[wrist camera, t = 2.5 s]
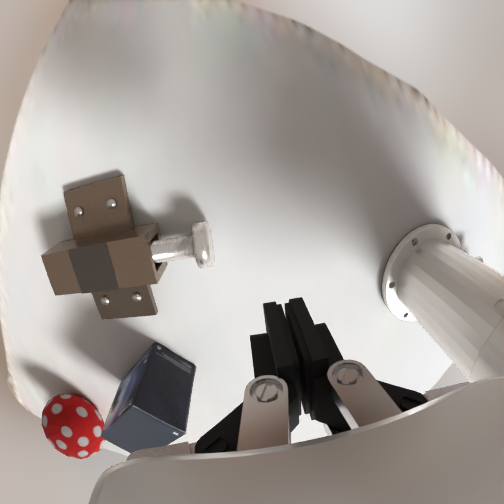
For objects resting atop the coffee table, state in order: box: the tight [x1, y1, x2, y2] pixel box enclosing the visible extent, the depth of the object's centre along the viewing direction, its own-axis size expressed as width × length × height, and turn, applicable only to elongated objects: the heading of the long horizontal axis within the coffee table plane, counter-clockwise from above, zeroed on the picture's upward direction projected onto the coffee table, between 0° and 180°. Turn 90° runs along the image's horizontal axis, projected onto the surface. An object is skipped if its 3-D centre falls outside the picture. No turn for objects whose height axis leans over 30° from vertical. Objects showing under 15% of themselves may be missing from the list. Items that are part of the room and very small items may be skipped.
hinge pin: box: [149, 221, 215, 268], centre depth 25 cm, size 14×4×4 cm, turn 97°
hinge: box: [41, 175, 167, 319], centre depth 25 cm, size 12×15×4 cm
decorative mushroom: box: [42, 394, 105, 459], centre depth 32 cm, size 11×11×15 cm
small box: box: [100, 342, 196, 453], centre depth 28 cm, size 11×6×10 cm, turn 139°
